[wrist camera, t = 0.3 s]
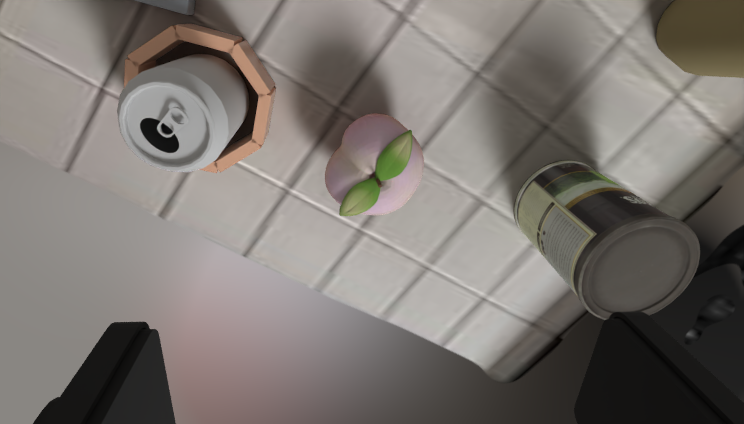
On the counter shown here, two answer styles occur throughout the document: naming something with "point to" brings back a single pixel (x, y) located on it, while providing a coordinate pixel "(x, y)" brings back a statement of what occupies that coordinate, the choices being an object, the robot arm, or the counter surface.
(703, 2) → the squeeze bottle
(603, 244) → the coffee can
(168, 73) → the can
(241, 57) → the terracotta ring
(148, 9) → the counter surface
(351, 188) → the decorative fruit
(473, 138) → the counter surface
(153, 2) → the slate tray
